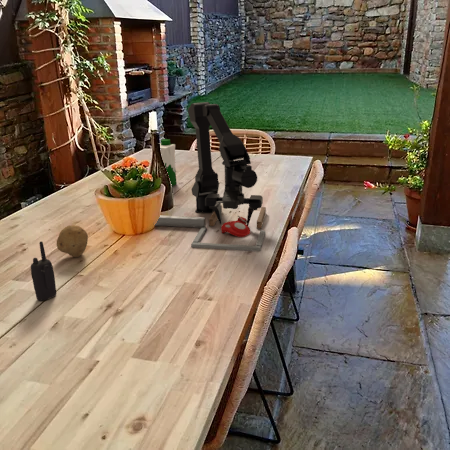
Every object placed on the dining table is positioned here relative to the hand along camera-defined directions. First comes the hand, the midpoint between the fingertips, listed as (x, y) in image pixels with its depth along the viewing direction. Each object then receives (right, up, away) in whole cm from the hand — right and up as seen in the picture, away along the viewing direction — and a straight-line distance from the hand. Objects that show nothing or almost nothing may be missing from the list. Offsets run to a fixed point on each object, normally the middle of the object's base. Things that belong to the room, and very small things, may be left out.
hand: (234, 224), depth 160 cm
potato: (-49, -10, -18) cm, 53 cm away
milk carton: (-30, +17, +51) cm, 62 cm away
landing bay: (-2, -5, -8) cm, 10 cm away
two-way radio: (-48, -19, -40) cm, 65 cm away
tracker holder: (+2, -3, -1) cm, 3 cm away
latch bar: (-19, -1, +4) cm, 19 cm away
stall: (+2, +2, +9) cm, 9 cm away
